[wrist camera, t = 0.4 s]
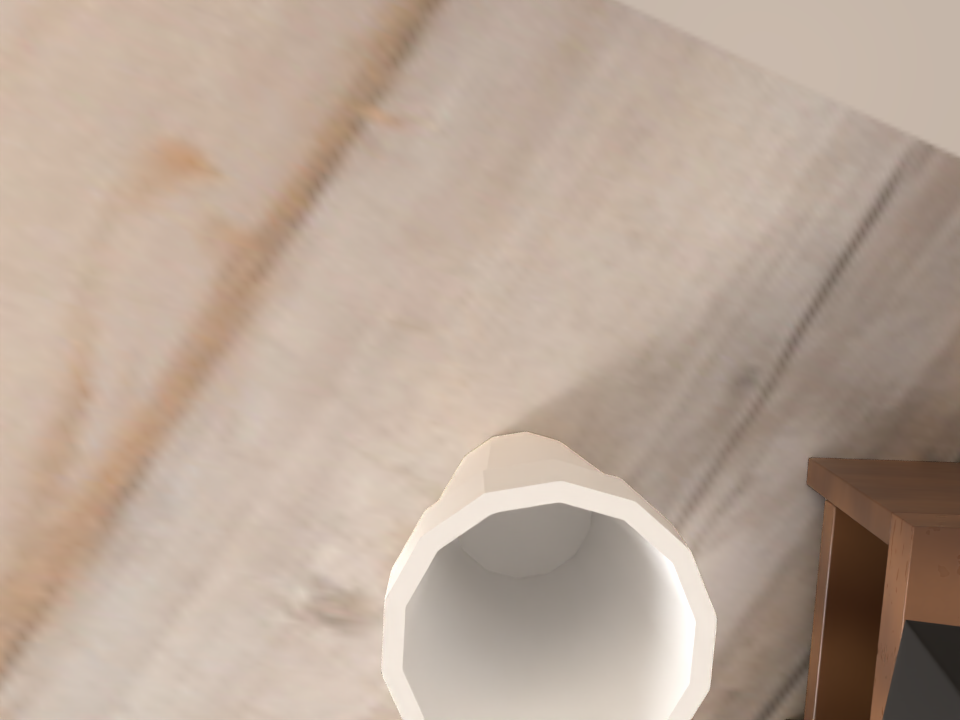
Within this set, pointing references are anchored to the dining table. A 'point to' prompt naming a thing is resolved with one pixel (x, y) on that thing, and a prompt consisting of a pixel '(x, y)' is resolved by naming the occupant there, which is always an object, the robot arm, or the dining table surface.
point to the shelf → (878, 574)
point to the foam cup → (545, 597)
